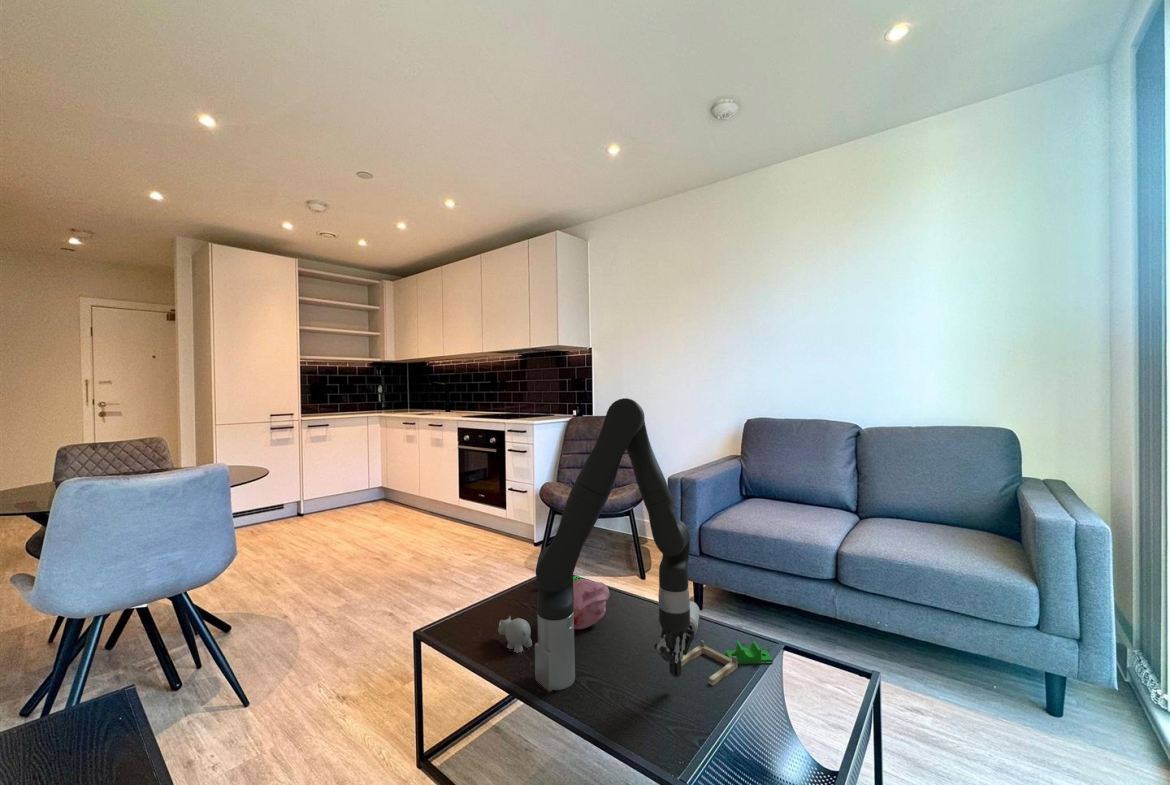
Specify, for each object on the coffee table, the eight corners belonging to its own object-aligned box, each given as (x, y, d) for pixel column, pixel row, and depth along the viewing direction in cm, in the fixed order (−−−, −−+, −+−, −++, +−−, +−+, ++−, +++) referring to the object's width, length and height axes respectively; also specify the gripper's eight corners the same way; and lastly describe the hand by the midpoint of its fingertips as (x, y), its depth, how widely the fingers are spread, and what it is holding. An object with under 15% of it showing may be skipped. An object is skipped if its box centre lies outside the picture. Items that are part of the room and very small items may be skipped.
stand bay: (713, 688, 111) (712, 675, 111) (676, 667, 120) (676, 655, 120) (737, 669, 118) (737, 657, 118) (701, 651, 127) (701, 639, 127)
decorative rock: (581, 647, 130) (580, 595, 130) (544, 632, 138) (543, 583, 138) (616, 619, 145) (615, 573, 145) (580, 607, 153) (579, 563, 153)
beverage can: (701, 619, 143) (698, 639, 132) (681, 619, 145) (677, 639, 134) (698, 599, 143) (695, 617, 132) (677, 599, 145) (673, 618, 134)
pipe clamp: (765, 640, 125) (772, 649, 120) (766, 654, 125) (772, 663, 120) (725, 641, 125) (730, 650, 120) (725, 654, 125) (730, 664, 120)
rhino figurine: (510, 633, 138) (509, 606, 138) (536, 648, 130) (535, 619, 130) (490, 644, 132) (490, 615, 132) (516, 659, 124) (516, 629, 124)
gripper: (668, 619, 103) (670, 695, 103) (703, 601, 111) (704, 671, 111) (644, 607, 109) (645, 679, 109) (679, 591, 117) (680, 657, 117)
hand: (675, 674), depth 110 cm, fingers closed
